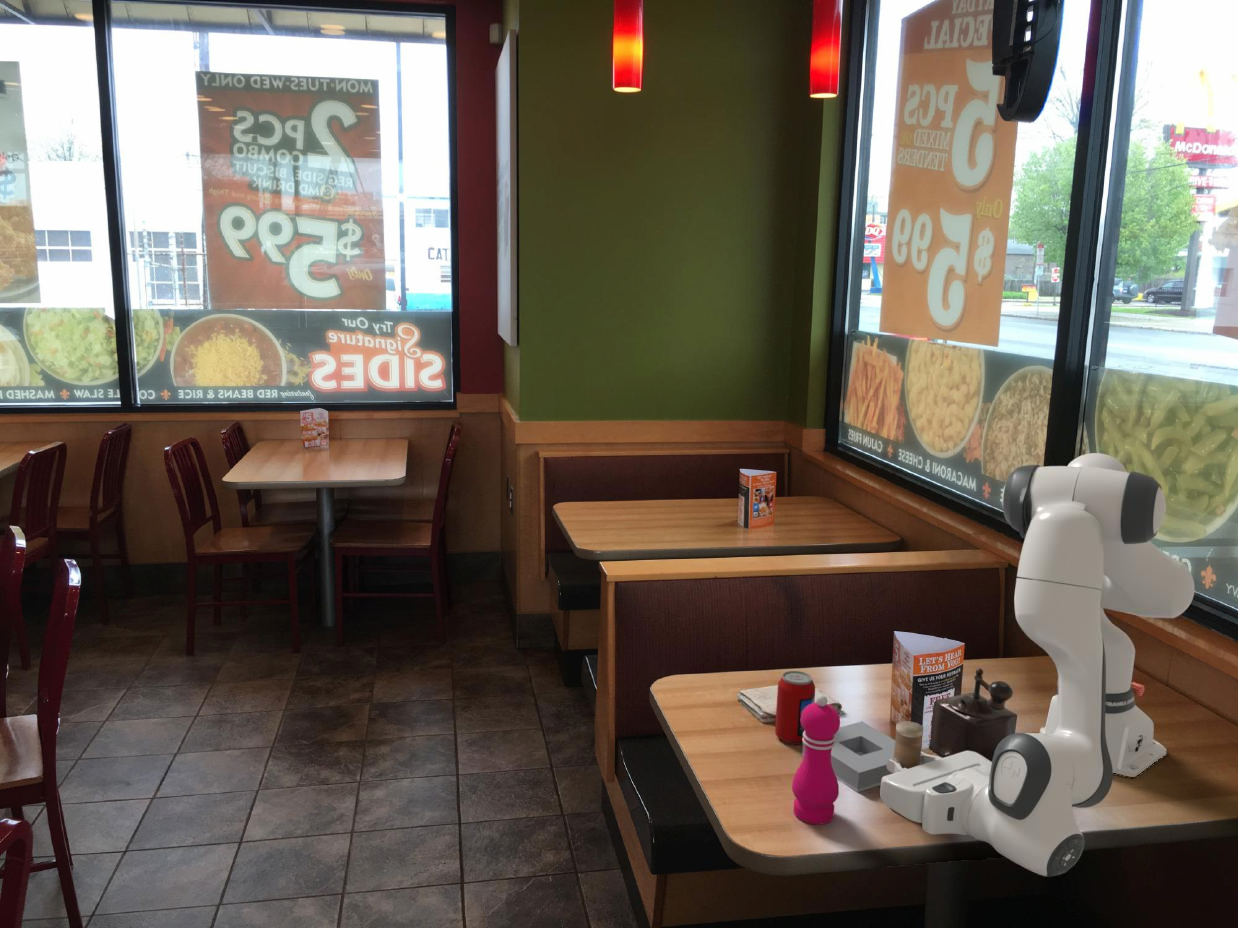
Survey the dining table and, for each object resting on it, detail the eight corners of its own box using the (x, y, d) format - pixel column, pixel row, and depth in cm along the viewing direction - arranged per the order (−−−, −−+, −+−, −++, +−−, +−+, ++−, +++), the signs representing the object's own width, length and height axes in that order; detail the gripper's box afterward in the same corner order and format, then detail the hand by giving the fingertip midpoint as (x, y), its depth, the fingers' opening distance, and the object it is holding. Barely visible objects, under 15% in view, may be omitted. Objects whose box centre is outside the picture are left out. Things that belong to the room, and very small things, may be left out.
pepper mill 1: (842, 826, 148) (852, 705, 144) (797, 826, 147) (805, 705, 143) (829, 801, 155) (837, 685, 151) (785, 801, 154) (793, 685, 150)
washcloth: (732, 702, 192) (733, 687, 191) (808, 690, 199) (809, 676, 198) (763, 727, 181) (764, 712, 180) (842, 714, 188) (843, 699, 187)
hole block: (860, 738, 177) (861, 721, 176) (918, 773, 165) (919, 754, 164) (801, 755, 170) (803, 736, 169) (857, 792, 158) (859, 772, 157)
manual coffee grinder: (923, 748, 174) (932, 654, 170) (968, 737, 178) (978, 646, 175) (990, 789, 160) (1001, 688, 157) (1037, 776, 165) (1048, 678, 161)
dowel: (902, 798, 156) (909, 718, 153) (921, 810, 153) (929, 729, 150) (883, 804, 154) (890, 723, 151) (902, 817, 151) (910, 734, 148)
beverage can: (811, 748, 172) (816, 686, 170) (773, 743, 174) (777, 681, 171) (811, 731, 179) (816, 671, 177) (775, 727, 180) (779, 667, 178)
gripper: (1021, 765, 145) (949, 727, 157) (925, 797, 135) (856, 754, 147) (1017, 802, 146) (946, 762, 158) (921, 837, 136) (853, 792, 148)
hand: (902, 759), depth 153 cm, fingers closed on dowel, 4 cm apart
